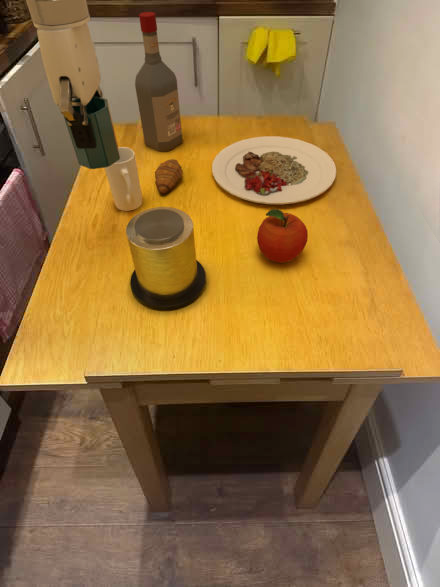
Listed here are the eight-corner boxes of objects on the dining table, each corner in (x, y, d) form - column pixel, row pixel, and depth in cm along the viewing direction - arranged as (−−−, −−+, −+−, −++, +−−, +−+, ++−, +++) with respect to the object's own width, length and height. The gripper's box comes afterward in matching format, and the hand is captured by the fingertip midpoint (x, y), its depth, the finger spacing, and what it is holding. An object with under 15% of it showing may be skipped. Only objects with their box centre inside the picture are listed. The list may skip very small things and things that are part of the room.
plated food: (321, 140, 111) (323, 128, 108) (347, 207, 91) (351, 194, 88) (211, 144, 110) (210, 133, 108) (213, 212, 90) (212, 199, 88)
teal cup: (70, 161, 70) (53, 109, 64) (99, 143, 74) (85, 92, 67) (100, 172, 68) (85, 119, 61) (128, 153, 71) (116, 101, 65)
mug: (111, 198, 95) (98, 151, 86) (139, 191, 96) (129, 144, 87) (122, 223, 88) (109, 174, 80) (151, 215, 90) (142, 166, 81)
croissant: (177, 198, 94) (175, 179, 91) (149, 196, 95) (145, 177, 91) (188, 166, 103) (187, 148, 100) (162, 165, 104) (160, 147, 100)
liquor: (187, 140, 112) (176, 12, 90) (164, 154, 108) (147, 22, 85) (163, 131, 116) (147, 6, 94) (140, 144, 111) (117, 15, 89)
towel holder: (115, 290, 75) (97, 232, 65) (163, 247, 83) (153, 189, 73) (175, 323, 70) (166, 265, 60) (220, 273, 78) (218, 215, 67)
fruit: (300, 275, 77) (307, 234, 69) (251, 265, 79) (253, 224, 71) (308, 242, 83) (315, 201, 75) (262, 234, 85) (265, 194, 78)
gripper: (52, -7, 60) (85, 111, 74) (6, 30, 49) (55, 163, 62) (101, -9, 60) (126, 111, 73) (67, 29, 49) (103, 162, 62)
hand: (93, 134), depth 68 cm, fingers closed on teal cup, 7 cm apart
